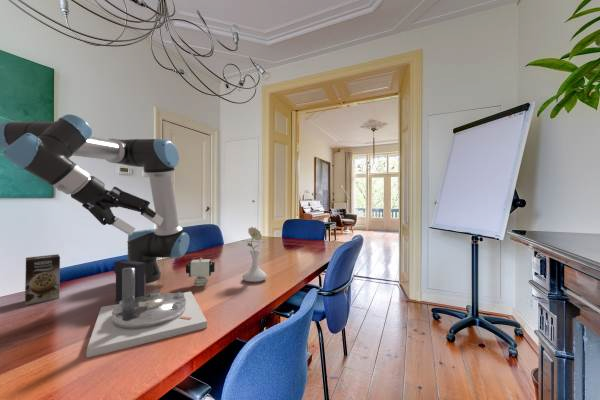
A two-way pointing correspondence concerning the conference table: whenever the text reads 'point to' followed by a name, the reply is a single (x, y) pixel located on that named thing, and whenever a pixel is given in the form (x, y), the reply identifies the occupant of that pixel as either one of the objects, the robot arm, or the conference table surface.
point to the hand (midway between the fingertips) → (146, 227)
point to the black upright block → (138, 277)
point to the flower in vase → (254, 260)
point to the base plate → (142, 329)
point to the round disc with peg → (145, 305)
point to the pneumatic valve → (200, 270)
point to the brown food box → (42, 278)
